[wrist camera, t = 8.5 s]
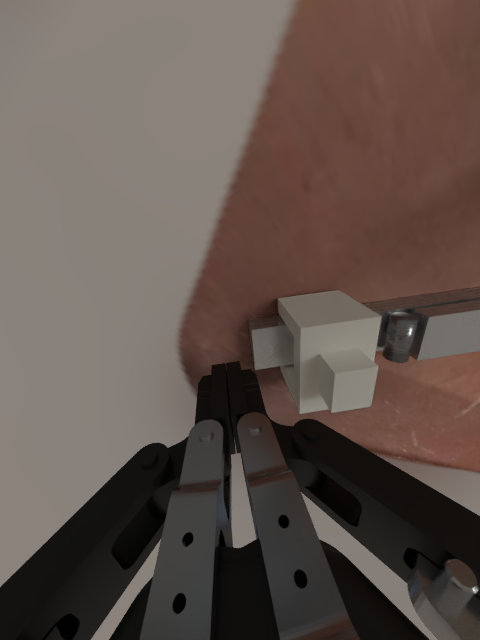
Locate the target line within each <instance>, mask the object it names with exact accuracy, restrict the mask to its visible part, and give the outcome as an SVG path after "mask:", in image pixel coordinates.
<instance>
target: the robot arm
mask: <svg viewBox="0 0 480 640" xmlns="http://www.w3.org/2000/svg"><path fill="white" fill-rule="evenodd" d="M226 366H227V371H226ZM196 406H197V407H196V417H195V426H194V427H193V428H192V429H191V431H190V433H189V436H188V437H187V438H186V439H185V440H183V441H182V442H180V443H178V444H176V445H173V446H171V447H169V448H167V447H166V446H165V445H164V444H161V443H152V444H149V445H147V446H145V447H143V448H142V449H141V450H140V451H138V452H137V453H136V454H135V455H134V456H133V457H132V458H131V459H130V460H129V461H128V462H127V463H126V464H125V465H124V466H123V467H122V468H121V469H120V470H119V471H118V472H117V473H116V474H115V475H114V476H113V477H112V478H111V479H110V480H109V481H108V482H107V483H106V484H105V485H104V486H103V487H102V488H101V489H100V490H99V491H98V492H97V493H96V494H95V495H94V496H93V497H92V498H90V500H89V501H87V502H86V504H84V506H83V507H81V508H80V509H79V510H78V511H77V512H76V513H75V514H74V515H73V516H72V517H71V518H70V519H69V520H68V521H67V522H66V523H65V524H64V525H63V526H62V527H61V528H60V529H59V530H58V531H57V532H56V533H55V534H54V535H53V536H52V537H51V538H50V539H49V540H48V541H47V542H46V543H45V544H44V545H43V546H42V547H41V548H40V549H39V550H38V551H37V552H36V553H35V554H34V555H33V556H32V557H31V558H30V559H29V560H28V561H26V562H25V564H24V565H23V566H22V567H20V569H18V570H17V571H16V573H14V574H13V575H12V576H11V577H10V578H9V579H8V580H7V581H6V582H5V583H4V584H3V585H2V586H1V587H0V640H91V638H92V637H93V635H94V634H95V632H96V631H97V630H98V628H99V627H100V625H101V624H102V622H103V621H104V619H105V618H106V616H107V615H108V614H109V612H110V611H111V609H112V608H113V607H114V605H115V604H116V602H117V600H118V599H119V598H120V597H121V595H122V594H123V592H124V591H125V589H126V588H127V586H128V585H129V584H130V582H131V581H132V579H133V578H134V576H135V575H136V574H137V572H138V570H139V569H140V568H141V566H142V565H143V564H144V562H145V561H146V559H147V558H148V556H149V555H150V553H151V552H152V551H153V549H154V548H155V546H156V545H157V543H158V542H159V541H160V539H161V542H160V547H159V552H158V556H157V561H156V566H155V570H154V575H153V577H152V578H151V579H150V580H149V581H148V583H147V584H146V585H145V586H144V587H143V589H142V590H141V591H140V593H139V594H138V595H137V597H136V598H135V600H134V601H133V603H132V604H131V606H130V607H129V609H128V611H127V612H126V614H125V615H124V617H123V619H122V620H121V622H120V623H119V625H118V626H117V628H116V630H115V631H114V633H113V634H112V636H111V638H110V639H109V640H429V639H428V638H427V637H426V636H425V635H424V634H423V633H422V632H421V631H420V630H419V629H418V628H417V627H416V626H415V625H414V624H413V623H412V622H411V621H410V620H409V619H408V618H407V617H406V616H405V615H404V614H403V613H402V612H401V611H400V610H399V609H398V608H397V607H396V606H395V605H394V604H393V603H392V602H391V601H390V600H389V599H388V598H387V597H386V596H385V595H384V594H383V593H382V592H381V591H380V590H379V589H378V588H377V587H376V586H375V585H374V584H373V583H372V582H371V581H370V580H369V579H368V578H367V577H366V576H365V575H364V574H363V573H362V572H361V571H360V570H359V569H358V568H357V567H356V566H355V565H354V564H353V563H352V562H351V561H350V560H349V559H348V558H347V557H345V556H344V555H343V554H342V553H341V552H339V551H338V550H337V549H336V548H334V547H332V546H331V545H329V544H327V543H326V542H323V541H321V540H319V538H318V536H317V533H316V531H315V528H314V525H313V523H312V520H311V517H310V515H309V512H308V510H307V507H306V504H305V502H304V499H303V497H302V494H301V492H302V493H303V494H304V495H305V496H307V497H308V498H309V499H310V500H311V501H312V502H314V503H315V504H316V505H317V506H318V507H319V508H321V509H322V510H323V511H324V512H325V513H326V514H327V515H329V516H330V517H331V518H332V519H334V521H336V522H337V523H338V524H339V525H340V526H341V527H343V528H344V529H345V530H346V531H347V532H349V533H350V534H351V535H352V536H353V537H354V538H355V539H356V540H358V541H359V542H360V543H361V544H362V545H363V546H365V547H366V548H367V549H368V550H369V551H370V552H372V553H373V554H374V555H375V556H376V557H377V558H379V559H380V560H381V561H382V562H383V563H384V564H385V565H387V566H388V567H389V568H390V569H391V570H392V571H394V572H395V573H396V574H397V575H398V576H399V577H401V578H402V579H403V580H404V581H405V582H406V583H407V584H408V592H409V596H410V599H411V602H412V604H413V607H414V609H415V611H416V613H417V614H418V616H419V617H420V619H421V620H422V622H423V623H424V624H425V626H426V627H427V628H428V629H429V630H430V631H431V632H432V633H433V635H434V636H435V637H436V638H437V639H438V640H480V516H478V515H477V514H475V513H473V512H472V511H470V510H468V509H467V508H465V507H463V506H461V505H460V504H458V503H456V502H455V501H453V500H451V499H450V498H448V497H446V496H445V495H443V494H441V493H439V492H438V491H436V490H434V489H433V488H431V487H429V486H428V485H426V484H424V483H422V482H421V481H419V480H417V479H416V478H414V477H412V476H410V475H409V474H407V473H406V472H404V471H402V470H401V469H399V468H397V467H395V466H394V465H392V464H390V463H389V462H387V461H385V460H384V459H382V458H380V457H378V456H377V455H375V454H373V453H372V452H370V451H368V450H367V449H365V448H363V447H362V446H360V445H358V444H356V443H355V442H353V441H351V440H350V439H348V438H346V437H345V436H343V435H341V434H340V433H338V432H336V431H334V430H333V429H331V428H329V427H328V426H326V425H324V424H323V423H321V422H319V421H317V420H314V419H303V420H300V421H298V422H297V423H296V424H295V425H294V427H293V426H285V425H280V424H277V423H275V422H274V421H272V420H271V419H270V418H269V417H268V415H267V413H266V410H265V406H264V403H263V399H262V395H261V391H260V388H259V384H258V380H257V376H256V374H255V373H254V372H253V371H252V370H251V369H247V370H241V367H240V361H236V362H229V363H226V365H225V363H223V364H216V365H212V375H208V376H203V377H202V379H201V380H200V382H199V383H198V394H197V405H196ZM234 438H235V442H234ZM235 443H236V450H237V453H241V458H242V464H243V470H244V476H245V481H246V486H247V491H248V496H249V501H250V507H251V512H252V517H253V523H254V527H255V534H256V540H255V541H253V542H251V543H249V544H247V545H246V546H244V547H242V548H233V541H232V528H231V454H235Z"/></svg>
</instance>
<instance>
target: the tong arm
mask: <svg viewBox="0 0 480 640" xmlns="http://www.w3.org/2000/svg"><path fill="white" fill-rule="evenodd" d="M412 314H414V315H416V316H417V317H418V318H419V321H418V324H417V328H416V332H415V336H414V340H413V344H412V348H411V352H410V356H412V357H413V358H414V359H416V360H417V361H418V360H424V359H431V358H437V357H444V356H450V355H457V354H463V353H469V352H476V351H480V300H474V301H467V302H460V303H453V304H446V305H439V306H432V307H425V308H418V309H413V310H412Z"/></svg>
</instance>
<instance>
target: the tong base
mask: <svg viewBox="0 0 480 640" xmlns="http://www.w3.org/2000/svg"><path fill="white" fill-rule="evenodd" d="M474 300H480V287H475V288H468V289H461V290H454V291H447V292H440V293H433V294H425V295H418V296H411V297H404V298H397V299H390V300H383V301H376V302H369V303H362V305H364V306H366V307H367V308H369V309H371V310H372V311H374V312H376V313H377V314H379V315H381V316H382V319H381V324H380V330H379V335H378V341H377V347H376V351H382V350H383V356H384V357H385V358H386V359H387V360H389V361H392V362H397V363H404V362H407V361H408V359H409V355H410V352H411V348H412V344H413V340H414V336H415V332H416V328H417V324H418V321H419V318H418V317H417V316H416V315H414V314H412V310H413V309H418V308H425V307H432V306H439V305H446V304H453V303H460V302H467V301H474ZM248 325H249V335H250V345H251V355H252V360H253V364H254V367H255V370H259V369H265V368H272V367H278V366H285V365H291V364H294V336H293V334H292V333H291V331H290V330H289V328H288V327H287V325H286V324H285V322H284V321H283V319H282V318H281V316H280V315H278V316H271V317H264V318H257V319H250V320H248Z"/></svg>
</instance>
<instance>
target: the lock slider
mask: <svg viewBox="0 0 480 640" xmlns="http://www.w3.org/2000/svg"><path fill="white" fill-rule="evenodd" d="M278 313H279V315H280V316H281V318H282V319H283V321H284V322H285V324H286V325H287V327H288V328H289V330H290V331H291V333H292V334H293V336H294V364H291V365H285V366H280V370H281V372H282V374H283V377H284V379H285V381H286V384H287V386H288V388H289V391H290V393H291V395H292V397H293V400H294V402H295V404H296V407H297V409H298V411H299V414H303V413H309V412H315V411H321V410H327V409H329V410H330V412H331V413H334V412H340V411H346V410H352V409H358V408H364V407H370V406H371V403H372V398H373V393H374V388H375V382H376V377H377V372H378V366H377V365H376V364H375V363H374V358H375V352H376V347H377V341H378V335H379V330H380V324H381V319H382V316H381V315H379V314H377V313H376V312H374V311H372V310H371V309H369V308H367V307H366V306H364V305H362V304H361V303H359V302H358V301H356V300H354V299H353V298H351V297H349V296H348V295H346V294H344V293H343V292H341V291H340V290H334V291H327V292H320V293H312V294H305V295H298V296H291V297H284V298H278Z"/></svg>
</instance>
